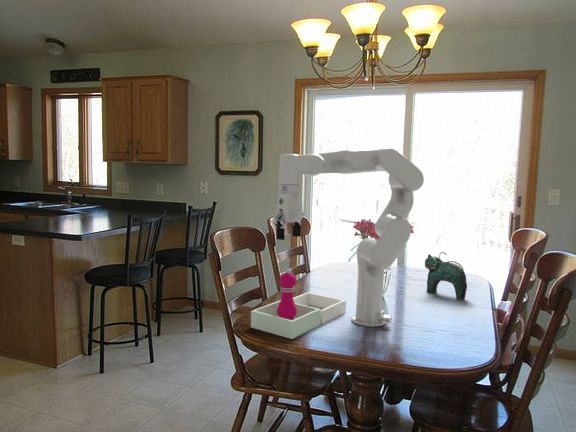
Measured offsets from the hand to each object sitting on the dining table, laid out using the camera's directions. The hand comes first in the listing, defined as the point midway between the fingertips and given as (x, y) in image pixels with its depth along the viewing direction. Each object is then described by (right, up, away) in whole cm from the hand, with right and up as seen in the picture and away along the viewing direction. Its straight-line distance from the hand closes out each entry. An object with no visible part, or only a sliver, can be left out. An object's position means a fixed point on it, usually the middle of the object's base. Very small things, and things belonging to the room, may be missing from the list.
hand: (288, 237), depth 165 cm
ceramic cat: (+72, -29, +51) cm, 93 cm away
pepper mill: (-1, -31, +4) cm, 32 cm away
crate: (+10, -31, +19) cm, 37 cm away
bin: (-1, -32, +4) cm, 32 cm away
